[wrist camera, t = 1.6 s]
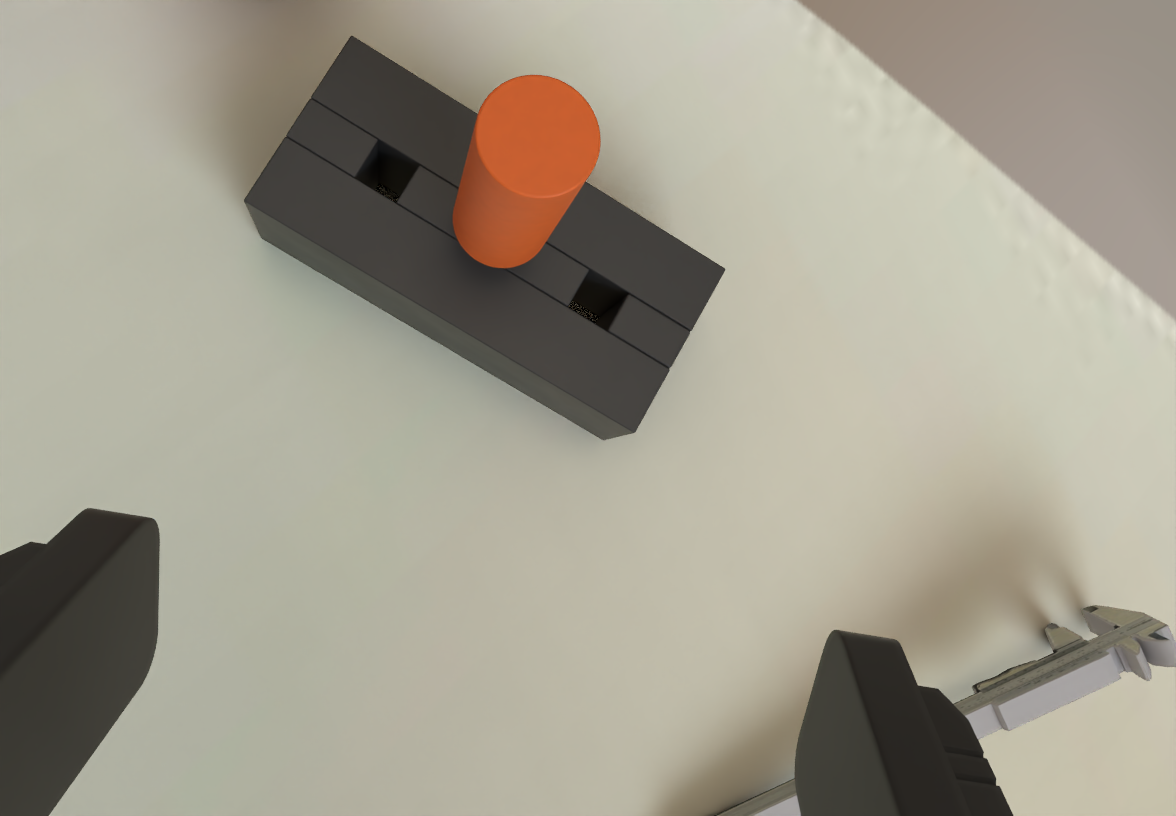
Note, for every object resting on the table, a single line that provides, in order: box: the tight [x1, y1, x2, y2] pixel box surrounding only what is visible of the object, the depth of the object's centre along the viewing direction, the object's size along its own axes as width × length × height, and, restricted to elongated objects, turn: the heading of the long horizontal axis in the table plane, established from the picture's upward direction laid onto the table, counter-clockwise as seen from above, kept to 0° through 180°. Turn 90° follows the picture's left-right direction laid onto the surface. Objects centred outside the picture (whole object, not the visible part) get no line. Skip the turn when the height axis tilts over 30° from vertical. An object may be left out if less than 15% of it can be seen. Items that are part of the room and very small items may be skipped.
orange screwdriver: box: [453, 75, 600, 268], centre depth 32 cm, size 3×3×15 cm
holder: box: [244, 36, 725, 440], centre depth 37 cm, size 6×14×5 cm, turn 61°
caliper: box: [715, 605, 1176, 816], centre depth 38 cm, size 20×1×6 cm, turn 116°
